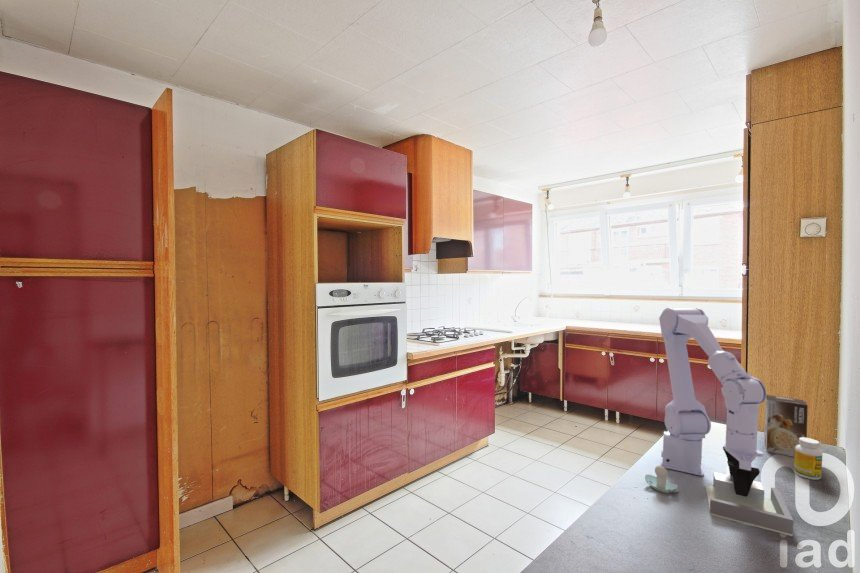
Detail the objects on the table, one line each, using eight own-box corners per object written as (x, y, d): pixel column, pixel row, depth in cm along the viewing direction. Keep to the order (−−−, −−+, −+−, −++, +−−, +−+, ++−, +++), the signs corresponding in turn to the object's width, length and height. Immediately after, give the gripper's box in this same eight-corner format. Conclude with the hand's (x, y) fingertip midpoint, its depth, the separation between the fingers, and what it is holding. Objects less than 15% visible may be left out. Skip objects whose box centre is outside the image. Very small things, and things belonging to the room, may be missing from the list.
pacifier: (652, 479, 106) (641, 486, 102) (653, 456, 106) (643, 462, 102) (683, 492, 100) (673, 499, 96) (684, 467, 100) (674, 473, 96)
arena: (710, 514, 90) (710, 499, 90) (705, 485, 103) (705, 472, 102) (792, 536, 83) (793, 520, 83) (776, 502, 95) (777, 488, 95)
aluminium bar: (759, 503, 94) (760, 482, 94) (763, 512, 91) (764, 490, 91) (712, 492, 99) (713, 472, 99) (714, 500, 95) (715, 479, 95)
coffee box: (802, 452, 122) (805, 399, 122) (806, 460, 117) (809, 405, 116) (763, 444, 128) (765, 394, 127) (765, 451, 122) (767, 399, 122)
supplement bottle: (797, 468, 112) (799, 434, 112) (823, 476, 108) (826, 441, 107) (790, 473, 109) (792, 438, 109) (817, 482, 105) (819, 446, 104)
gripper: (770, 445, 86) (767, 508, 86) (757, 423, 98) (754, 477, 99) (729, 438, 89) (726, 498, 90) (721, 417, 102) (719, 470, 102)
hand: (738, 487), depth 95 cm, fingers open, 7 cm apart
